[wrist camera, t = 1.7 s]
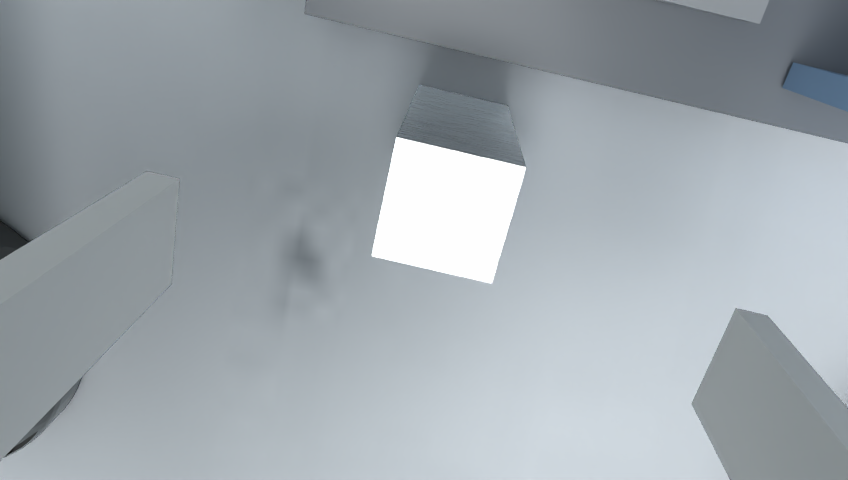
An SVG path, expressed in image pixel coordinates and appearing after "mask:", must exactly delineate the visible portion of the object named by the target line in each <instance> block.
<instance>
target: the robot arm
mask: <svg viewBox="0 0 848 480" xmlns="http://www.w3.org/2000/svg"><path fill="white" fill-rule="evenodd" d="M179 184H180V179H179V178H175V177H171V176H166V175H162V174H158V173H154V172H149V171H146V172H144V173H143V174H141V175H139V176H138V177H136V178H134V179H133V180H131V181H130V182H128V183H126V184H125V185H123V186H121V187H120V188H118V189H116V190H115V191H113V192H111V193H110V194H108V195H106V196H105V197H103V198H102V199H100V200H98V201H97V202H95V203H93V204H92V205H90V206H88V207H87V208H85V209H83V210H82V211H80V212H78V213H77V214H75V215H73V216H72V217H70V218H69V219H67V220H65V221H64V222H62V223H60V224H59V225H57V226H55V227H54V228H52V229H50V230H49V231H47V232H45V233H44V234H42V235H41V236H39V237H37V238H36V239H34V240H32V241H31V242H29V243H28V242H27V241H26V240H24V239H23V238H22V237H21V236H20V235H19V234H17V233H16V232H15V231H13V230H12V229H11V228H9V227H8V226H7V225H5V224H4V223H2V222H1V221H0V461H1V460H2V459H3V458H5V457H7V456H9V455H11V454H13V453H15V452H17V451H18V450H20V449H22V448H23V447H25V446H26V445H28V444H29V443H30V442H32V441H33V440H34V439H35V438H37V437H38V436H39V435H40V434H41V433H42V432H43V431H44V430H45V429H46V428H47V427H48V426H49V424H50V423H51V422H52V421H53V420H54V419H55V418H56V417H57V416H58V415H59V414H60V413H61V412H62V411H63V409H64V408H65V407H66V406H67V405H68V403H69V402H70V401H71V399H72V397H73V396H74V394H75V392H76V390H77V388H78V385H79V382H80V379H81V377H82V376H83V375H84V374H85V373H86V372H87V371H88V370H89V369H90V368H91V367H92V366H93V365H94V364H95V363H96V362H97V361H98V360H99V359H100V358H101V357H102V356H103V355H104V353H105V352H106V351H107V350H108V349H109V348H110V347H111V346H112V345H113V344H114V343H115V342H116V341H117V340H118V339H119V338H120V337H121V336H122V335H123V334H124V333H125V332H126V331H127V330H128V329H129V328H130V327H131V326H132V325H133V324H134V322H135V321H136V320H137V319H138V318H139V317H140V316H141V315H142V314H143V313H144V312H145V311H146V310H147V309H148V308H149V307H150V306H151V305H152V304H153V303H154V302H155V301H156V300H157V299H158V298H159V297H160V296H161V295H162V294H163V293H164V292H165V290H166V289H167V288H168V287H169V286H170V285H171V284H172V271H173V259H174V246H175V234H176V221H177V209H178V197H179ZM692 406H693V408H694V410H695V412H696V414H697V416H698V418H699V420H700V421H701V423H702V425H703V427H704V429H705V431H706V433H707V435H708V437H709V439H710V441H711V443H712V445H713V447H714V449H715V451H716V453H717V455H718V457H719V459H720V461H721V463H722V465H723V467H724V469H725V471H726V473H727V475H728V477H729V479H730V480H848V408H847V407H846V406H845V405H844V404H843V402H842V401H841V400H840V399H839V398H838V397H837V395H836V394H835V393H834V392H833V391H832V390H831V388H830V387H829V386H828V385H827V384H826V383H825V381H824V380H823V379H822V378H821V377H820V376H819V375H818V373H817V372H816V371H815V370H814V369H813V368H812V366H811V365H810V364H809V363H808V362H807V361H806V359H805V358H804V357H803V356H802V355H801V354H800V352H799V351H798V350H797V349H796V348H795V347H794V346H793V344H792V343H791V342H790V341H789V340H788V339H787V337H786V336H785V335H784V334H783V333H782V332H781V330H780V329H779V328H778V327H777V326H776V325H775V323H774V322H773V321H772V320H771V319H770V318H769V317H768V316H767V315H763V314H759V313H754V312H750V311H746V310H742V309H737V308H736V309H735V311H734V313H733V315H732V318H731V320H730V322H729V324H728V326H727V328H726V330H725V333H724V335H723V337H722V339H721V341H720V343H719V346H718V348H717V350H716V352H715V354H714V356H713V359H712V361H711V363H710V365H709V367H708V369H707V371H706V374H705V376H704V378H703V380H702V382H701V384H700V387H699V389H698V391H697V393H696V395H695V397H694V399H693V402H692Z"/></svg>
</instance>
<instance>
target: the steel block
mask: <svg viewBox="0 0 848 480" xmlns="http://www.w3.org/2000/svg"><path fill="white" fill-rule="evenodd" d="M525 169H526V166H525V162H524V159H523V156H522V152H521V149H520V145H519V142H518V139H517V135H516V132H515V128H514V125H513V122H512V118H511V115H510V112H509V108H508V105H504V104H500V103H495V102H491V101H487V100H483V99H479V98H474V97H470V96H466V95H462V94H457V93H453V92H449V91H445V90H441V89H436V88H432V87H428V86H424V85H419V87H418V89H417V91H416V93H415V96H414V98H413V100H412V103H411V105H410V107H409V109H408V112H407V114H406V116H405V118H404V121H403V123H402V125H401V128H400V130H399V132H398V134H397V137H396V141H395V146H394V151H393V155H392V160H391V165H390V170H389V174H388V179H387V184H386V189H385V193H384V198H383V203H382V208H381V213H380V217H379V222H378V227H377V232H376V236H375V241H374V246H373V251H372V256H373V257H378V258H382V259H386V260H391V261H395V262H399V263H404V264H408V265H412V266H417V267H421V268H426V269H430V270H434V271H439V272H443V273H447V274H452V275H456V276H460V277H465V278H469V279H474V280H478V281H482V282H487V283H491V284H492V282H493V278H494V275H495V272H496V268H497V265H498V261H499V258H500V255H501V251H502V248H503V244H504V241H505V238H506V234H507V231H508V227H509V224H510V220H511V217H512V214H513V210H514V207H515V203H516V200H517V197H518V193H519V190H520V186H521V183H522V180H523V176H524V173H525Z"/></svg>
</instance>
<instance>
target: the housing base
mask: <svg viewBox="0 0 848 480" xmlns="http://www.w3.org/2000/svg"><path fill="white" fill-rule="evenodd" d="M304 14H307V15H311V16H315V17H319V18H324V19H328V20H332V21H336V22H340V23H345V24H349V25H353V26H357V27H361V28H366V29H370V30H374V31H378V32H382V33H387V34H391V35H395V36H399V37H403V38H408V39H412V40H416V41H420V42H424V43H429V44H433V45H437V46H441V47H445V48H450V49H454V50H458V51H462V52H466V53H471V54H475V55H479V56H483V57H487V58H492V59H496V60H500V61H504V62H508V63H513V64H517V65H521V66H525V67H529V68H534V69H538V70H542V71H546V72H550V73H555V74H559V75H563V76H567V77H571V78H576V79H580V80H584V81H588V82H592V83H597V84H601V85H605V86H609V87H613V88H618V89H622V90H626V91H630V92H634V93H639V94H643V95H647V96H651V97H655V98H660V99H664V100H668V101H672V102H676V103H681V104H685V105H689V106H693V107H697V108H702V109H706V110H710V111H714V112H718V113H723V114H727V115H731V116H735V117H739V118H744V119H748V120H752V121H756V122H760V123H765V124H769V125H773V126H777V127H781V128H786V129H790V130H794V131H798V132H802V133H807V134H811V135H815V136H819V137H823V138H828V139H832V140H836V141H840V142H844V143H848V112H847V111H844V110H841V109H839V108H836V107H833V106H830V105H828V104H825V103H822V102H820V101H817V100H814V99H811V98H809V97H806V96H803V95H800V94H798V93H795V92H792V91H789V90H787V89H784V88H782V87H783V85H784V82H785V80H786V78H787V75H788V73H789V71H790V68H791V66H792V64H793V62H794V63H798V64H802V65H807V66H811V67H815V68H819V69H823V70H827V71H831V72H836V73H840V74H844V75H848V0H306V5H305V12H304Z"/></svg>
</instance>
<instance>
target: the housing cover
mask: <svg viewBox="0 0 848 480" xmlns="http://www.w3.org/2000/svg"><path fill="white" fill-rule="evenodd" d="M782 88H784V89H787V90H789V91H792V92H795V93H798V94H800V95H803V96H806V97H809V98H811V99H814V100H817V101H820V102H822V103H825V104H828V105H830V106H833V107H836V108H839V109H841V110H844V111H847V112H848V75H844V74H840V73H836V72H831V71H827V70H823V69H819V68H815V67H811V66H807V65H802V64H798V63H794V62H793V64H792V66H791V68H790V71H789V73H788V75H787V78H786V80H785V82H784V85H783V87H782Z"/></svg>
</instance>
